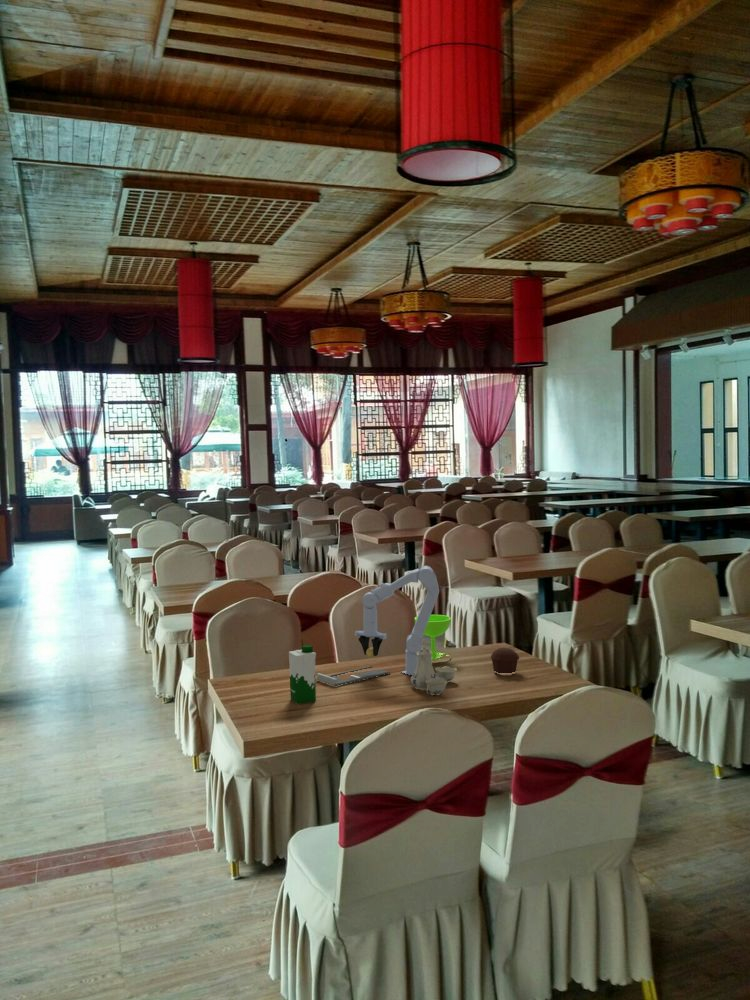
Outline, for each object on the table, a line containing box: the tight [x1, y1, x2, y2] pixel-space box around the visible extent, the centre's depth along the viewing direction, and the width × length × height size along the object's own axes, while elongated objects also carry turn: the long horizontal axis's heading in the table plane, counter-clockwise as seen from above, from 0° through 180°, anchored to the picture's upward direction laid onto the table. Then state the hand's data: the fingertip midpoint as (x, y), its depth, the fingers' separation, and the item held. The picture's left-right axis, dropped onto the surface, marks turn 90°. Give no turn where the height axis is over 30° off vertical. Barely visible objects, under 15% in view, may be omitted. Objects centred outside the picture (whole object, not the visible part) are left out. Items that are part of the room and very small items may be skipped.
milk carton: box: [288, 644, 317, 705], centre depth 297 cm, size 9×9×20 cm
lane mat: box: [316, 665, 391, 687], centre depth 327 cm, size 12×28×3 cm, turn 129°
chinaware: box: [410, 645, 457, 696], centre depth 310 cm, size 28×17×17 cm, turn 168°
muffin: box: [490, 647, 520, 673], centre depth 330 cm, size 12×11×10 cm
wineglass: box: [414, 614, 452, 661], centre depth 355 cm, size 16×16×18 cm
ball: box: [366, 646, 375, 658], centre depth 333 cm, size 4×4×4 cm
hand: (371, 654), depth 333 cm, fingers closed on ball, 4 cm apart
